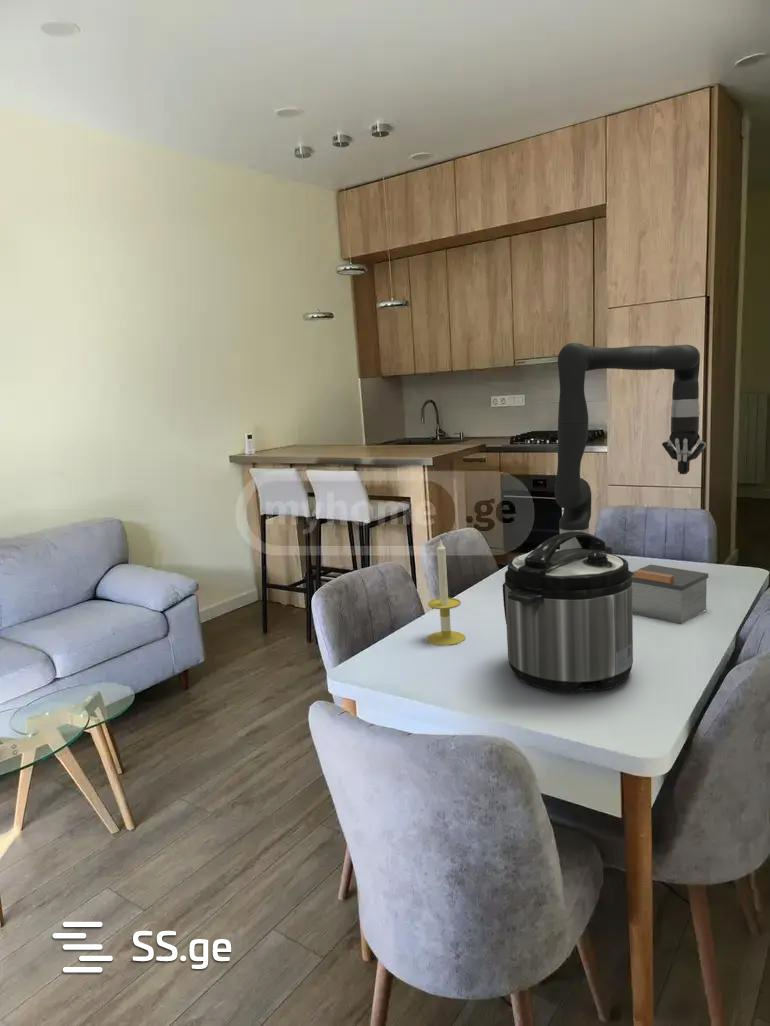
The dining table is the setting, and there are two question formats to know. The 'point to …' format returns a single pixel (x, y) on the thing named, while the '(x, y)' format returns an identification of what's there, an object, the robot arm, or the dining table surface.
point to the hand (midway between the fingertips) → (683, 473)
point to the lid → (667, 577)
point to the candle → (444, 606)
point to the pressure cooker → (569, 615)
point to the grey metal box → (669, 601)
